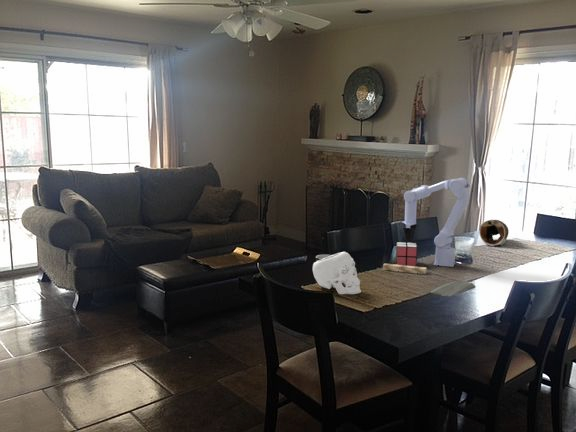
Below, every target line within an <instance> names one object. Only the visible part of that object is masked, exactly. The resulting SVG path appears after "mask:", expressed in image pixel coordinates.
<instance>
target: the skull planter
mask: <svg viewBox="0 0 576 432" xmlns="http://www.w3.org/2000/svg"><path fill="white" fill-rule="evenodd" d="M330 255H331V256H328V257H326V258H323V259H321V260H319V261H317V262H316V261H315V262H313V264H312V273H313V277H314V279H315V281H316V282H317V284H318V285H319V286H320V287H322V288H323V289H324V288H325V289H328V290H330V289H331V288H333V289H335V290H336V291H337V293H338V295H357V294H360V293H362V290H361V287H360V284H361V280H360V278H358V272H357V268H356V267H355V266H356V261H354V258H353V257H352V256H351V255H350V254H349V253H348V252H346V251H342V252H337V253H334V254H330ZM343 284H344V285H345V287H344V286H343Z"/></svg>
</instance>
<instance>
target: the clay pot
mask: <svg viewBox="0 0 576 432" xmlns="http://www.w3.org/2000/svg"><path fill="white" fill-rule="evenodd" d="M478 230H479V232H478V233H479V236H480V239H481V240H482V242H483V243H484V244H485V245H488V246H493V247H494V246H495V247H496V246H498V247H500V246H503V245H504V244H505V243H506V242H507V240H508V239H507V238H508V236H509V233H510V232H509V228H508V225H506V223H504V222H503V221H501V220H499V219H489V220H486V221H483V223H481V225H480V226H479V229H478ZM498 235H499V237H498V239H497V240H494V237H493V236H498Z"/></svg>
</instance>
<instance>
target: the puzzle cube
mask: <svg viewBox="0 0 576 432" xmlns="http://www.w3.org/2000/svg"><path fill="white" fill-rule="evenodd" d="M395 246H396V247H395V248H396V251H395V265H405V266H416V267H418V265H417V264H418V262H417V261H418V244H417V243H416V242H401V241H399V242H396V244H395Z"/></svg>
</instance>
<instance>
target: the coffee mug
mask: <svg viewBox="0 0 576 432" xmlns="http://www.w3.org/2000/svg"><path fill="white" fill-rule="evenodd" d="M331 255H332V254H318V255H316V256H315V262H317V261H319V260H321V259H323V258H326V257H328V256H331Z"/></svg>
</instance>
